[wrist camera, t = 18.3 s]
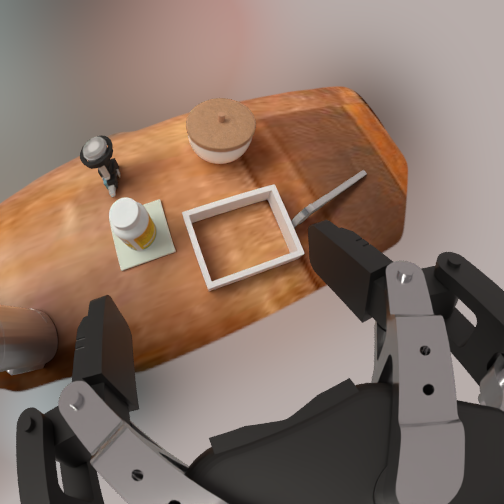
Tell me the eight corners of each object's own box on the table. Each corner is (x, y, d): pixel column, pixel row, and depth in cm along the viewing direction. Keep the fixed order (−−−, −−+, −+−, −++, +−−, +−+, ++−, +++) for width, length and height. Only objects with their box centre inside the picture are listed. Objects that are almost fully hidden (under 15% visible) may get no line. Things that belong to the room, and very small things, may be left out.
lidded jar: (198, 182, 44) (195, 150, 35) (182, 134, 46) (178, 99, 37) (258, 165, 46) (268, 133, 37) (238, 120, 48) (243, 86, 39)
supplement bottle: (125, 253, 39) (102, 235, 30) (125, 220, 40) (104, 195, 31) (158, 250, 40) (143, 230, 31) (157, 216, 41) (143, 189, 32)
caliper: (291, 231, 44) (303, 217, 38) (287, 226, 45) (298, 211, 39) (366, 175, 50) (381, 159, 43) (362, 170, 50) (377, 154, 44)
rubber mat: (175, 251, 41) (175, 251, 40) (122, 270, 39) (121, 270, 39) (160, 200, 42) (159, 199, 42) (110, 218, 41) (109, 217, 40)
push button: (128, 194, 42) (110, 163, 32) (99, 202, 41) (76, 174, 31) (125, 161, 43) (110, 127, 34) (98, 169, 42) (78, 138, 33)
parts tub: (297, 258, 43) (304, 253, 40) (208, 291, 40) (208, 289, 37) (270, 193, 45) (274, 184, 42) (184, 220, 42) (181, 212, 39)
